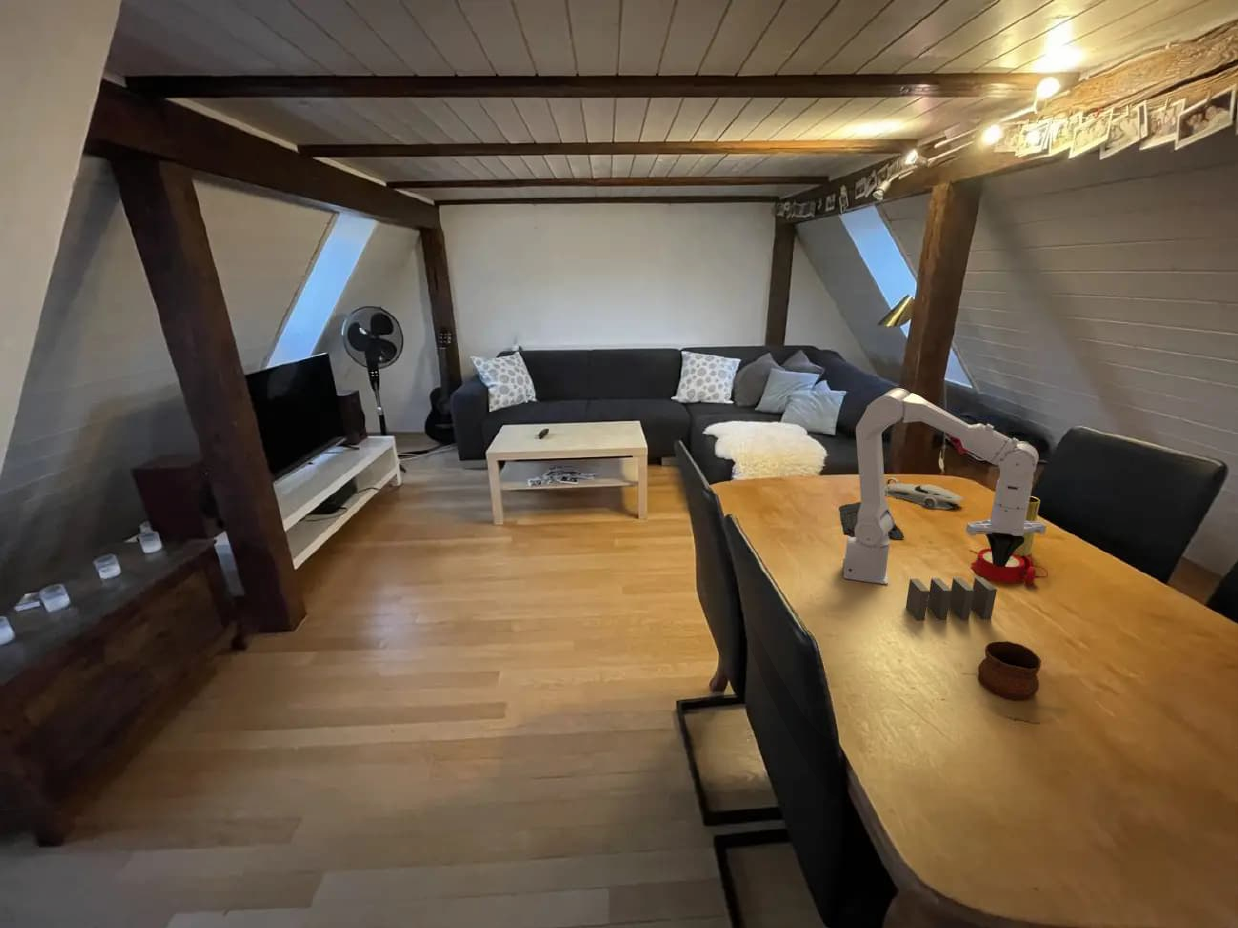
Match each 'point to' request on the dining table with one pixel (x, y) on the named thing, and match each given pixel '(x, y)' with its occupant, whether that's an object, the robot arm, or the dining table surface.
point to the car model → (922, 494)
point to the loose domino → (917, 599)
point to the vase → (1027, 545)
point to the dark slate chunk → (851, 518)
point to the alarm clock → (1006, 568)
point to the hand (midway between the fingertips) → (998, 564)
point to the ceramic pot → (1010, 672)
